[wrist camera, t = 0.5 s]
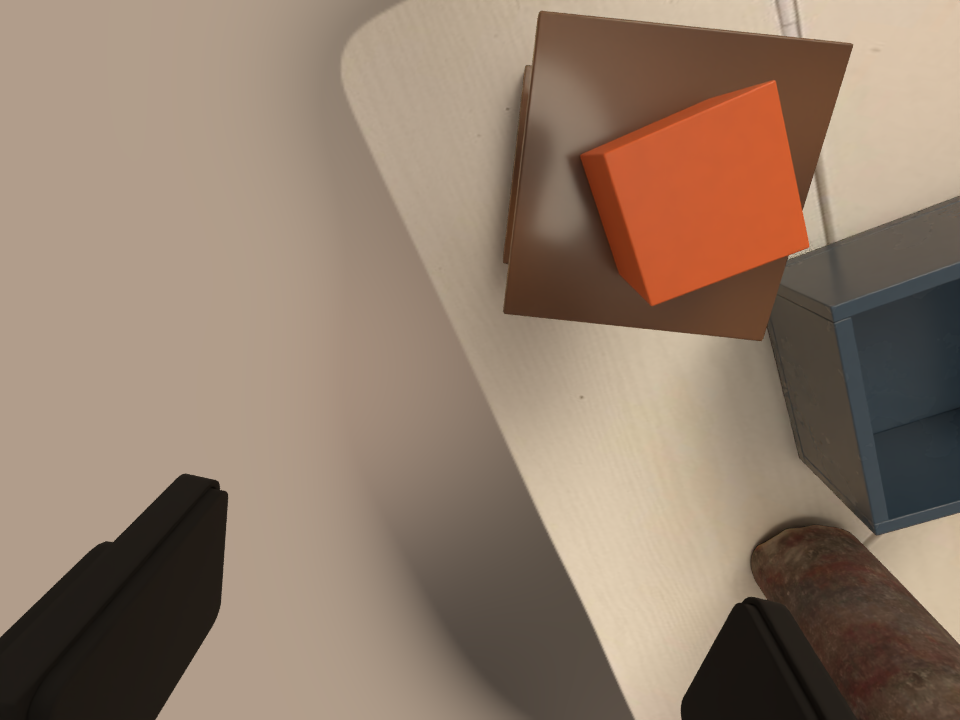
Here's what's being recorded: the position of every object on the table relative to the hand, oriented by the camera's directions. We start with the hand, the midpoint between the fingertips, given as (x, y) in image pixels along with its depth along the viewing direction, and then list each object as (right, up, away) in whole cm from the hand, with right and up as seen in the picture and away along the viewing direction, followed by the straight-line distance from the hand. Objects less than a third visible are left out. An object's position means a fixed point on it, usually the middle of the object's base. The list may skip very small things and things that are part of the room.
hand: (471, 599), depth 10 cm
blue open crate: (+25, +6, +23) cm, 34 cm away
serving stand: (+7, +14, +20) cm, 26 cm away
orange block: (+7, +10, +9) cm, 15 cm away
